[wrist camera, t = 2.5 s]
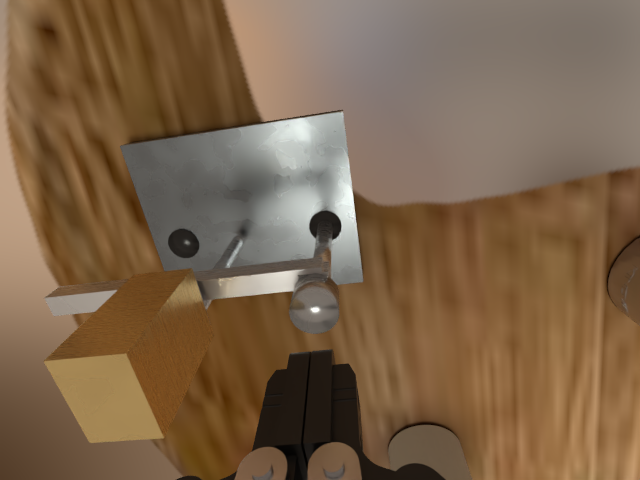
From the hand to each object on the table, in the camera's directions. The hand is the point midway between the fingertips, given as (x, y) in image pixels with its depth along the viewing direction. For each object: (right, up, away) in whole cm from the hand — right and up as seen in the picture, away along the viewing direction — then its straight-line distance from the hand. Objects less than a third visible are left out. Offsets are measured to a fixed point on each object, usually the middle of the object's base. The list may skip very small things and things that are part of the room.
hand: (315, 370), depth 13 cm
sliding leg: (-7, +6, +16) cm, 19 cm away
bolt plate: (-6, +7, +18) cm, 20 cm away
